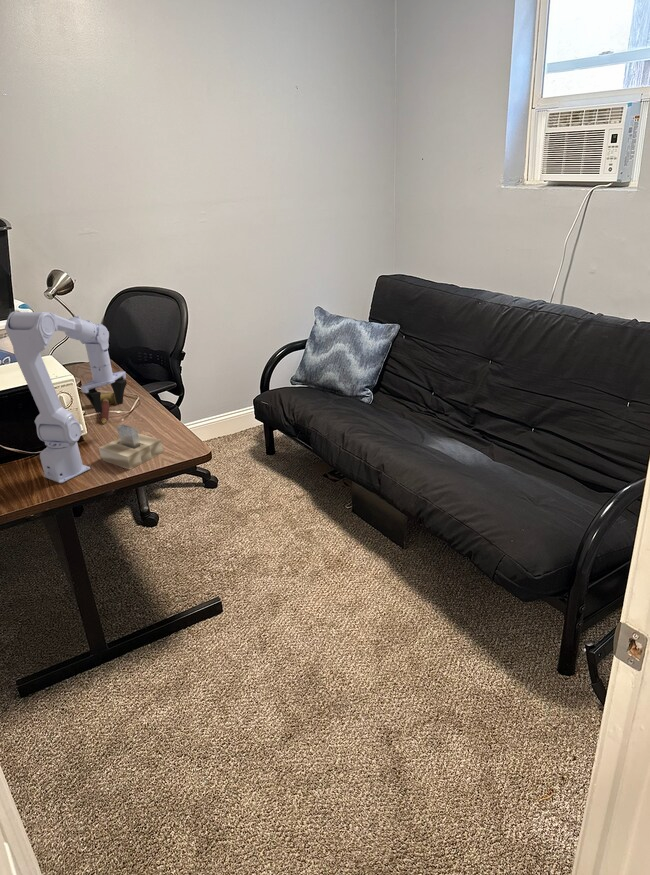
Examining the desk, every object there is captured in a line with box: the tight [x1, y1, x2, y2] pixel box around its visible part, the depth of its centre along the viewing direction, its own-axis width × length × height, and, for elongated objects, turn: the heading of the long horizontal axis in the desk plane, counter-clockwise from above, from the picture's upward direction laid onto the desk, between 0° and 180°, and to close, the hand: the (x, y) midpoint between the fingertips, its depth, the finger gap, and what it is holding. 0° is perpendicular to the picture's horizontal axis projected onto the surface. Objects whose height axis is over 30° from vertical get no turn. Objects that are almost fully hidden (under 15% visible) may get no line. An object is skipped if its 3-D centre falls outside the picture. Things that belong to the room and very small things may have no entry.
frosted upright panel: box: [116, 424, 140, 449], centre depth 171 cm, size 2×6×9 cm, turn 57°
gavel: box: [89, 392, 119, 425], centre depth 204 cm, size 21×5×10 cm
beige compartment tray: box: [98, 432, 164, 471], centre depth 172 cm, size 12×12×4 cm
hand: (109, 407), depth 183 cm, fingers open, 7 cm apart
